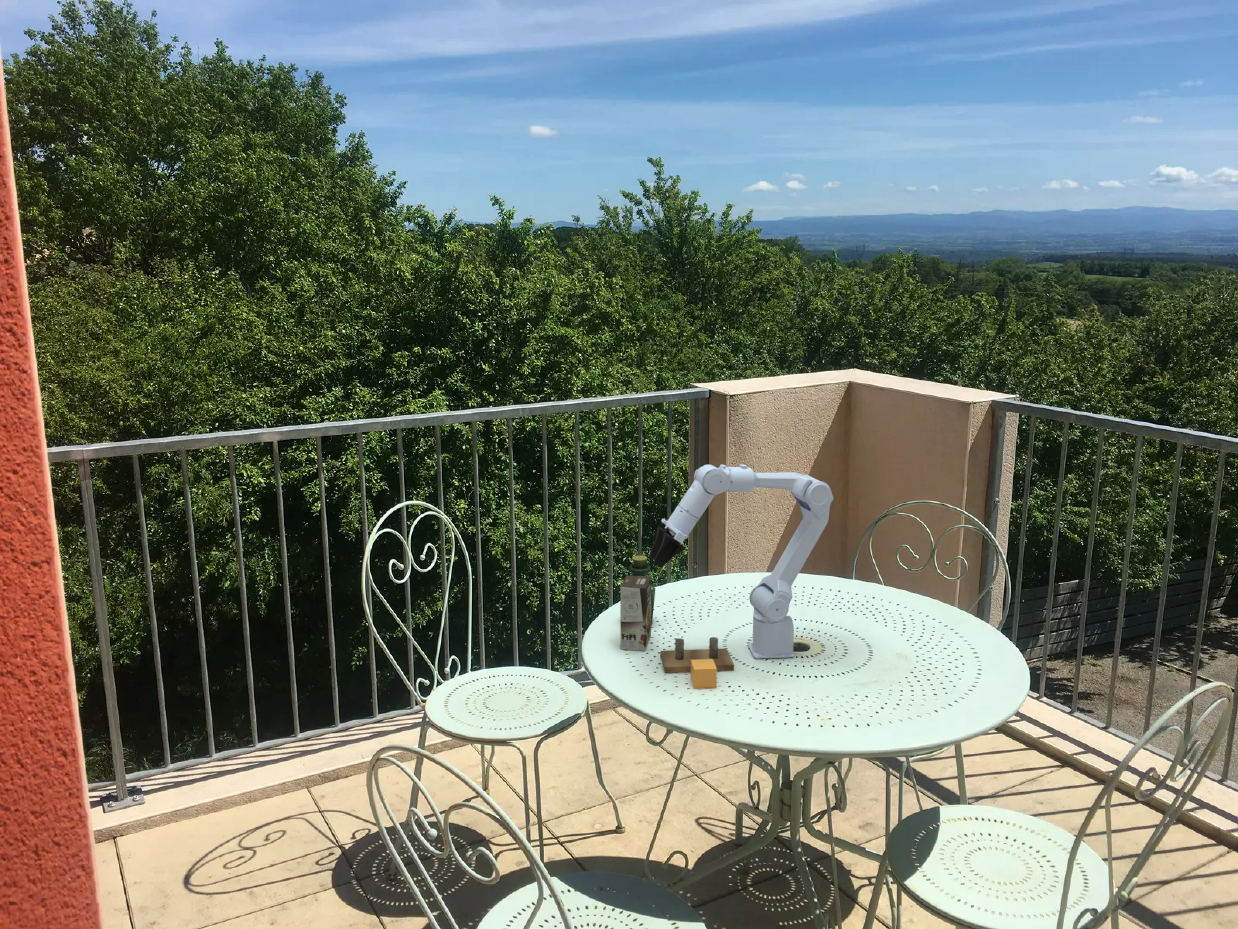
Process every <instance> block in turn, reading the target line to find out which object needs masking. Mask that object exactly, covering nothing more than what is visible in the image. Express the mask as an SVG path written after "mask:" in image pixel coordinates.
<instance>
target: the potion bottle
mask: <svg viewBox="0 0 1238 929" xmlns="http://www.w3.org/2000/svg"><path fill="white" fill-rule="evenodd" d="M647 560H648V557H647V556H645V555H635V556H632V564H630V566H629V567H628V573H630V574H632V576H648V574H649V573H651V572H652V569H651V566H650V565H649V564H647ZM655 597H656V587H655V586H654V584H653V583H652V582H651V626H652V624H653V620H654V610H655V609H654V608H655Z"/></svg>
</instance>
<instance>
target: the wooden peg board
mask: <svg viewBox="0 0 1238 929" xmlns="http://www.w3.org/2000/svg"><path fill="white" fill-rule="evenodd" d="M708 640H709V641H708V642H709V648H703V649H702V648H701V649H699V648H698V649H685V639H684V638H676V639H675V640H674V643H675V644H674V646H675V648H674V650H673V649H671V650H660V652H659V653H660V654H659V656H660V661H661V664H662V668H663V671H664V674H680V673H681V674H682V673H691V660H698V659H713V661H714V663H715V666H716V668H717V672H733V671H735V663H734V662H733V659H732V657H731V654H730V652H729V650H728V648H725V647H724V648H719V638H718V637H714V636H713V637H710V638H709V639H708Z"/></svg>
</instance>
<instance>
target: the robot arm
mask: <svg viewBox="0 0 1238 929" xmlns="http://www.w3.org/2000/svg"><path fill="white" fill-rule="evenodd" d="M755 488H762V489H763V488H765V489H778V490H780V489H781V490H787V491H788V492H790V494H791V495H792V497H793V499H795V500H794V501H795V502H797V504H798V505H799V509H800V511H801V513H802V519H801V521H800V523H799V524H798V525H797V528H796V530H795V532H794V533H793V535H792V537H791V539H790V540H789V542H788V544H787V545H786V548H785V549H784V551H783V553H782V554H781V556H780V558H779V560H778V562H777V563H776V564H775V566H774V568H773V570H772V572H771V573H770V574H769V575H767V576H765V577H764V576H763V577H762V579H761V581H760V582H759V583H758V585H756V586H755V587H753V588H752V590H750V593H749V597H748V598H749V604H750V605H751V606H752V607H753V613H752V617H753V618H752V642H751V643H750V642H749V643H747V647H748V648H749V650H750V652H751V654H752V656H753V658H754V659H757V660H758V659H780V658H781V659H783V658H794V657H795V655H794V638H795V633H794V632H795V630H794V629H795V628H794V622H793V618H792V616H790V615H788V613H789V609H790V603H791V601H792V599H793V591H792V589H793V588H792V586H793V584H794V583H795V580H796V579H797V577H798V575H799V573H800V572H801V571H802V569H803V566H804V565H805V563H806V561H807V559H808V557H809V556H810V555H811V552H812V551H813V549H814V548H815V546H816V544H817V542H818V541H819V539H820V537H821V535H822V534H823V531H824V530H825V528H826V526H827V525H828V523H829V520H830V519H829V518H830V509H831V504H832V502H833V501H834V498H835V497H834V495H833V493H832V489H831V487H830V485H829V484H827V483H826V482H825V481H820V480H818V479H816V478H814V477H813V476H811V475H809V474H807V473H799V472H794V471H792V472H791V471H789V472H787V471H786V472H780V471H779V472H755V471H754V470H753V469H752V468H751V467H748V465H746V464H742V463H741V464H739V466H726V465H725V464H720V465H719V467H716V466H715V465H712V464H704V465H703V466H700V467H699V468H698V469H696V470H695V471H694V475H693V482H692V484H691V486H690V487H689V488H688V489H687V491H686V492H685V493H684V495H683V497H682V498H681V500H680V501H679V503H678V504H677V505H676V507H675V508H674V510H673V512H672V513H671V514H670V516H669V518H668V519H664V518H661V520H660V521H661V522H662V523H663V524H664V525H665V527H664V529H663V528H662V527H661V526H657V530H656V535H655V540H654V543H653V545H652V547H651V550H650V552H649V556H648V557H649V558H650V559H652V560H653V564H654V565H656V566H657V567H658V568H660V569H662V568H663V567H664V566H666V565H667V563H669V562H670V561H671V560H672V559H673V558H674V557H675V556H677V555H678V554H679V553H682V552H683V551H685V550H686V546H684V545H683V542H684V541H685V540H686V539H688V538H689V534H691V532H692V531H693V529H694V527H695V526H696V525H697V523H698V521H699V520H700V518H701V517H702V516H703V514H704V513H705V511H706V510H707V508H708V506H709V505H710V503H711V502H712V500H713V499H714V497H715V496H717V495H720V494H722V493H751V492H752V491H753V490H754V489H755Z"/></svg>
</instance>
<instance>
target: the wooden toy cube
mask: <svg viewBox="0 0 1238 929" xmlns="http://www.w3.org/2000/svg"><path fill="white" fill-rule="evenodd" d="M717 672H718V671H717V668H716V666H715V663H714V661H713V659H698V660H691V672H690V681H691V683H692V687H693V689H711V688H712V689H714V688H715V689H717V674H718V673H717Z"/></svg>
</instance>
